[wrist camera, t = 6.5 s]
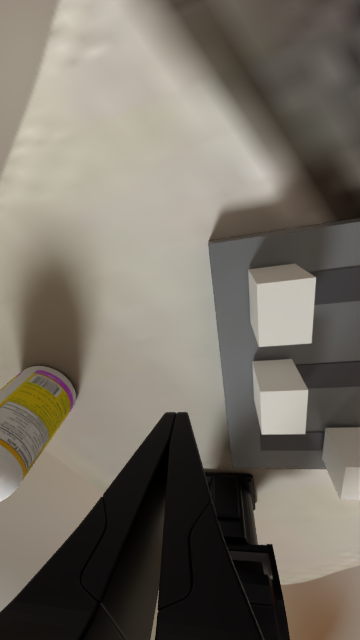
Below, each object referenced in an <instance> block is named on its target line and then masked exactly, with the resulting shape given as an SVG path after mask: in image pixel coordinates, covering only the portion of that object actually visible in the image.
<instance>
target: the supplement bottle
mask: <svg viewBox="0 0 360 640" xmlns="http://www.w3.org/2000/svg"><path fill="white" fill-rule="evenodd" d="M75 401H76V393H75V389H74V387H73V385H72V384H71V382H70V381H69V380H68V379H67V378H66V377H65V376H64V375H63V374H62V373H60V372H59V371H57V370H55V369H52V368H49V367H45V366H33V367H29V368H27V369H25V370H23V371H22V372H21V373H19V374H18V375H17V376H16V377H15V378H13V379H12V380H11V381H10V382H9V383H7V384H6V385H5V386H4V387H3V388H2V389H1V390H0V501H2V500H4V499H6V498H7V497H9V496H10V495H11V494H12V493H13V492H14V491H15V490H16V488H17V487H18V486H19V484H20V483H21V482H22V480H23V479H24V477H25V476H26V474H27V473H28V471H29V470H30V469H31V467H32V466H33V464H34V463H35V461H36V460H37V458H38V457H39V455H40V454H41V453H42V451H43V450H44V448H45V447H46V446H47V444H48V443H49V441H50V440H51V438H52V437H53V435H54V434H55V433H56V431H57V430H58V428H59V427H60V425H61V424H62V422H63V421H64V420H65V418H66V417H67V415H68V414H69V412H70V411H71V409H72V408H73V406H74V404H75Z"/></svg>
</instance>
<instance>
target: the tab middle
mask: <svg viewBox="0 0 360 640" xmlns="http://www.w3.org/2000/svg"><path fill="white" fill-rule="evenodd" d="M252 366H253V388H254V402H255V406H256V411H257V415H258V420H259V425H260V429H261V434H262V435H267V434H305V431H306V417H307V402H308V388H307V387H306V385H305V383H304V381H303V379H302V377H301V375H300V373H299V372H298V370H297V368H296V366H295V364H294V362H293V360H292V359H282V360H266V361H252Z"/></svg>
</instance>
